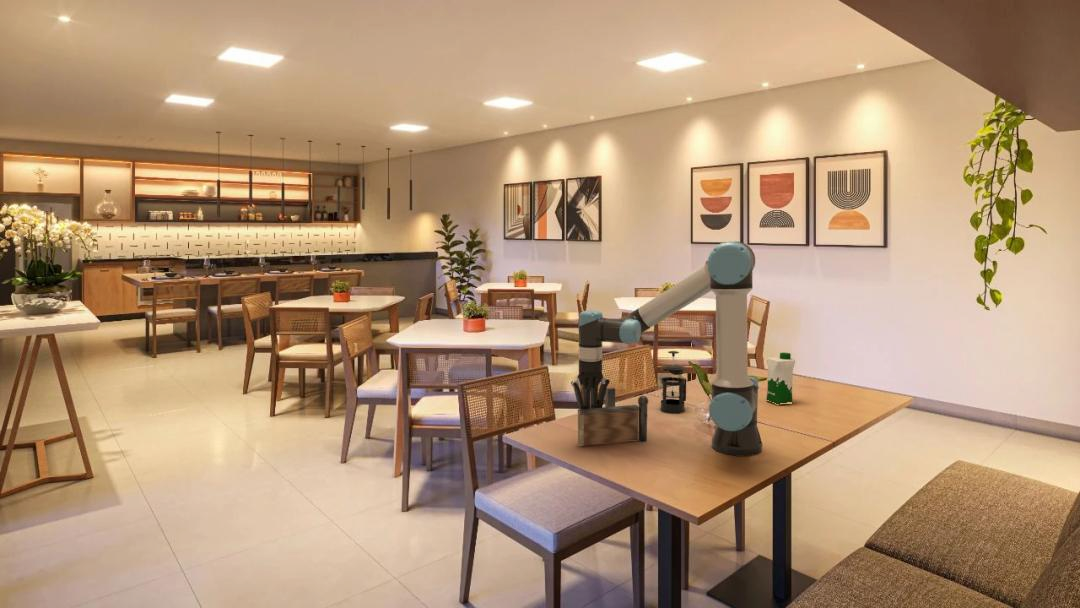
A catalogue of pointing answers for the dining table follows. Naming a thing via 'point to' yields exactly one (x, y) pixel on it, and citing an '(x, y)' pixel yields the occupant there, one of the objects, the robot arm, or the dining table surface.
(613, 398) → the latch post
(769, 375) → the milk carton
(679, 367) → the french press
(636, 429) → the gate
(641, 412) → the gate post
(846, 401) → the dining table surface
